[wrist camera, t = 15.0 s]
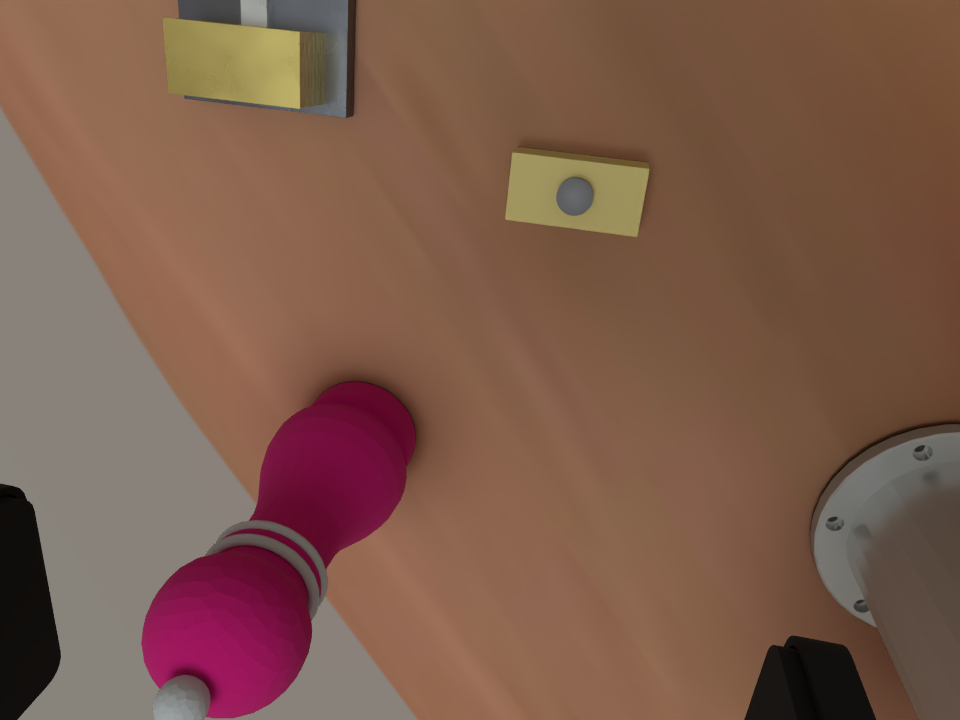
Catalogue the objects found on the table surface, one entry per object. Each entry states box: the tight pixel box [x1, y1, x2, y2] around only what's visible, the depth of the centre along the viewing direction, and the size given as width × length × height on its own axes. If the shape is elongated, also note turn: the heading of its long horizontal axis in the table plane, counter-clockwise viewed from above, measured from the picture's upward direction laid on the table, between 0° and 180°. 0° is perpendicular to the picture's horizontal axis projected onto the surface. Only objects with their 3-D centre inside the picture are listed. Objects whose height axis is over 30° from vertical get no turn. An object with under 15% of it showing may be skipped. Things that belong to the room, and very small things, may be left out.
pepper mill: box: [142, 382, 416, 720], centre depth 33 cm, size 7×7×20 cm
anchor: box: [505, 147, 650, 237], centre depth 33 cm, size 6×3×3 cm, turn 85°
